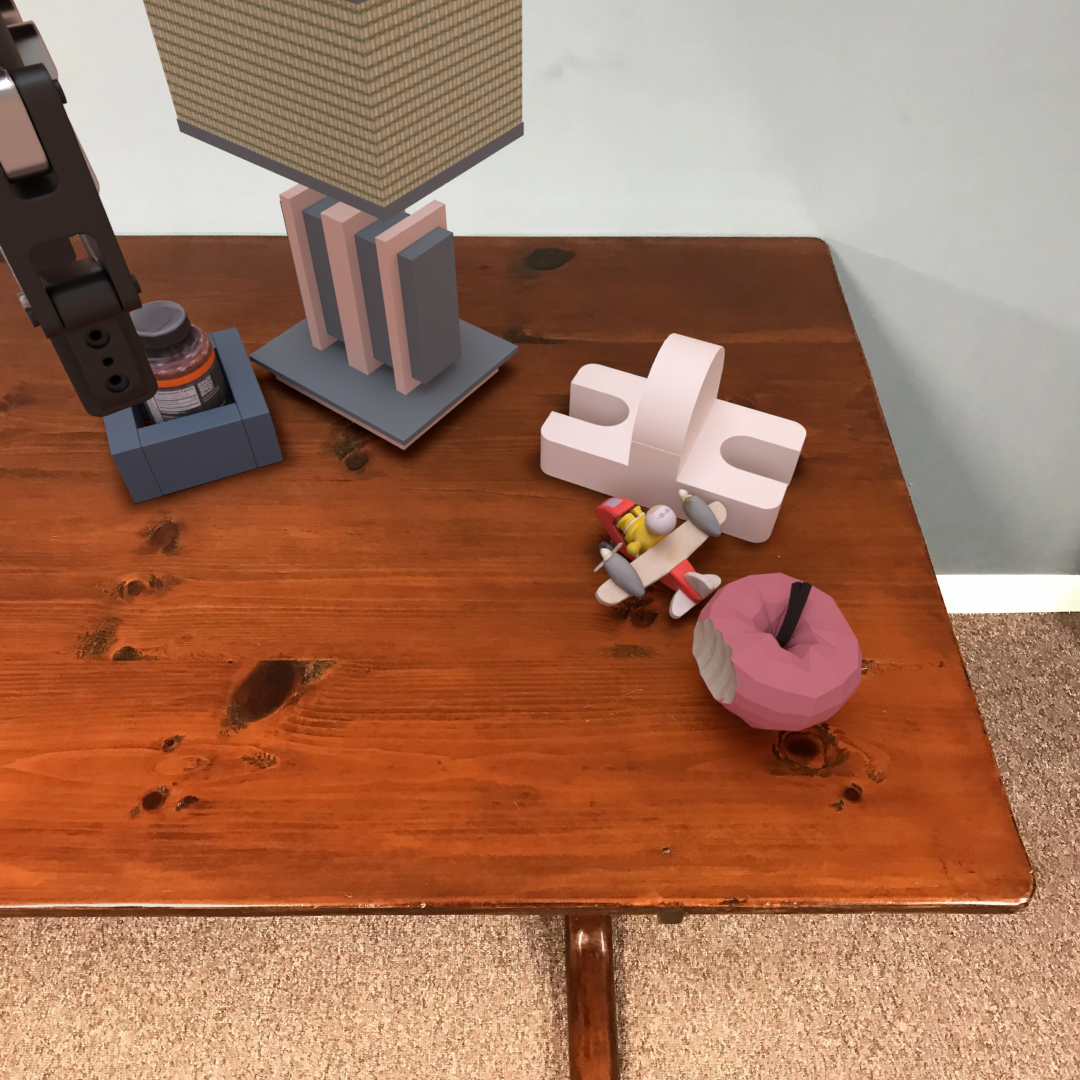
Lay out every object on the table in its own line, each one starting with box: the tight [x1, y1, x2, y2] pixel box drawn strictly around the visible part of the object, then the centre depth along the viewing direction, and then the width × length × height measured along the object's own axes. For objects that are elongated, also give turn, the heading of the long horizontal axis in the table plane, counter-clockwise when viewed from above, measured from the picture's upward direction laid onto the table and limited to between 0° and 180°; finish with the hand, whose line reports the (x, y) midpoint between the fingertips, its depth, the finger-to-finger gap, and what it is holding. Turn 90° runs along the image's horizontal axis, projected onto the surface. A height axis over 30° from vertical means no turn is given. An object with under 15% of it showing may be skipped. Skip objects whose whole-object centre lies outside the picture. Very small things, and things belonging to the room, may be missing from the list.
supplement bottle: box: [129, 300, 233, 425], centre depth 66 cm, size 6×6×11 cm
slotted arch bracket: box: [539, 332, 807, 544], centre depth 65 cm, size 10×18×11 cm, turn 66°
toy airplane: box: [593, 489, 727, 620], centre depth 59 cm, size 9×9×6 cm
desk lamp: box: [142, 0, 525, 451], centre depth 63 cm, size 18×14×33 cm
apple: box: [692, 572, 863, 732], centre depth 52 cm, size 10×9×10 cm
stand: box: [102, 326, 284, 504], centre depth 68 cm, size 11×11×5 cm
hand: (82, 331), depth 30 cm, fingers open, 8 cm apart
